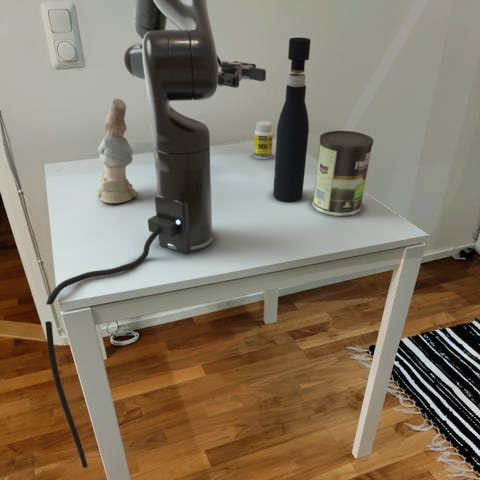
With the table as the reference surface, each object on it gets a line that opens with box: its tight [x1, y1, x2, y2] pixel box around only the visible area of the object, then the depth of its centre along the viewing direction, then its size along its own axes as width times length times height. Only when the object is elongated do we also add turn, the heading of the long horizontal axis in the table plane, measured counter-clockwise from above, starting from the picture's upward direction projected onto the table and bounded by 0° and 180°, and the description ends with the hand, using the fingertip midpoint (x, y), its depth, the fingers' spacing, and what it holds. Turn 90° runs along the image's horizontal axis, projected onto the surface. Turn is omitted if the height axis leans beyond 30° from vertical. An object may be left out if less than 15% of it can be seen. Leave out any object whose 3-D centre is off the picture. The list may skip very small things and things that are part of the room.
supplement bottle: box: [253, 120, 274, 160], centre depth 121 cm, size 5×5×8 cm
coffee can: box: [311, 130, 374, 217], centre depth 95 cm, size 10×10×14 cm
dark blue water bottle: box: [272, 37, 312, 203], centre depth 94 cm, size 6×6×30 cm
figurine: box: [97, 98, 138, 204], centre depth 96 cm, size 9×8×20 cm
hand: (251, 78), depth 96 cm, fingers open, 8 cm apart
